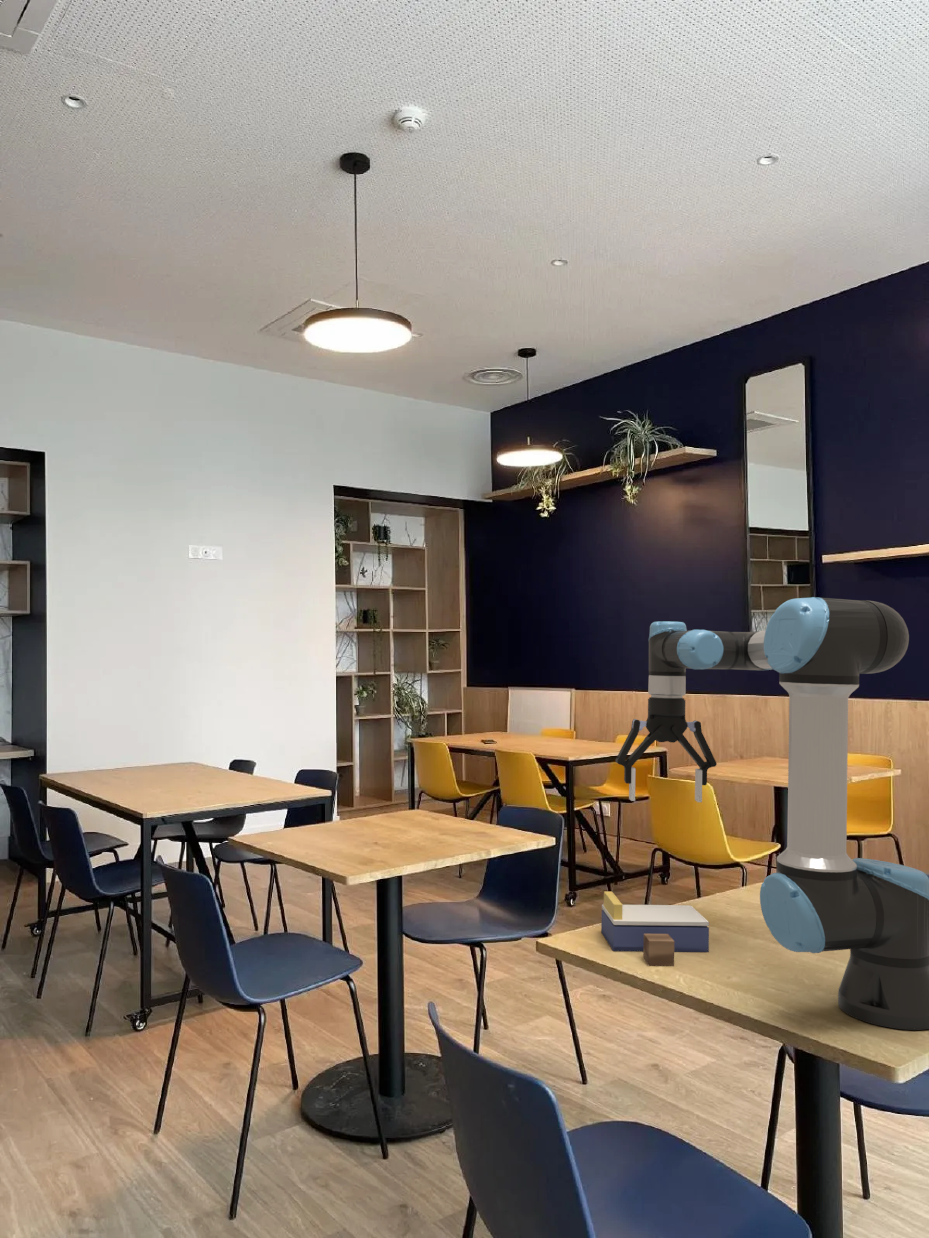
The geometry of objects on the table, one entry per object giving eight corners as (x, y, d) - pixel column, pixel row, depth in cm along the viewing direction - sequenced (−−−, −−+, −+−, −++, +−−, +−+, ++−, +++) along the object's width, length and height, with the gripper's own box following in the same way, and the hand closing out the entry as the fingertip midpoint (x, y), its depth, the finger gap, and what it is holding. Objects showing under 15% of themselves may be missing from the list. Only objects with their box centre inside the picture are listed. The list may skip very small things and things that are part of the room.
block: (674, 966, 167) (674, 941, 167) (649, 966, 167) (649, 940, 167) (667, 958, 171) (667, 933, 172) (643, 958, 171) (643, 933, 171)
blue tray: (708, 952, 176) (708, 927, 176) (613, 951, 175) (613, 926, 175) (690, 933, 188) (690, 910, 188) (601, 932, 187) (601, 909, 187)
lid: (708, 925, 176) (709, 906, 176) (613, 924, 175) (614, 905, 175) (690, 908, 188) (691, 891, 188) (601, 907, 187) (602, 890, 187)
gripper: (722, 697, 196) (720, 799, 195) (603, 694, 196) (601, 796, 195) (732, 698, 189) (731, 804, 188) (609, 695, 189) (607, 801, 188)
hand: (665, 800), depth 192 cm, fingers open, 13 cm apart
